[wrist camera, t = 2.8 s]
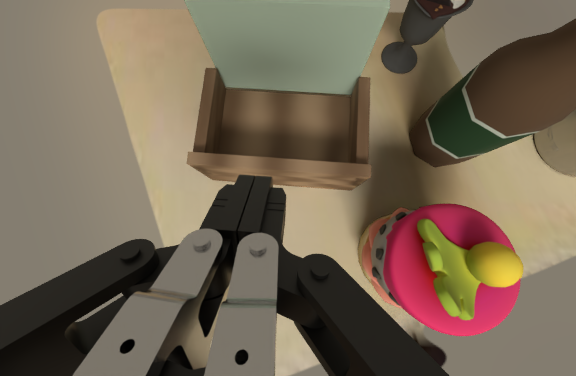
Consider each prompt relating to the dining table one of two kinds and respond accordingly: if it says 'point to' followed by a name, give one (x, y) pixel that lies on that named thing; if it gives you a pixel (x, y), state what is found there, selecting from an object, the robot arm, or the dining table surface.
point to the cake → (443, 267)
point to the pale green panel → (290, 41)
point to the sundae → (419, 30)
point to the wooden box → (283, 136)
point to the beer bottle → (502, 99)
